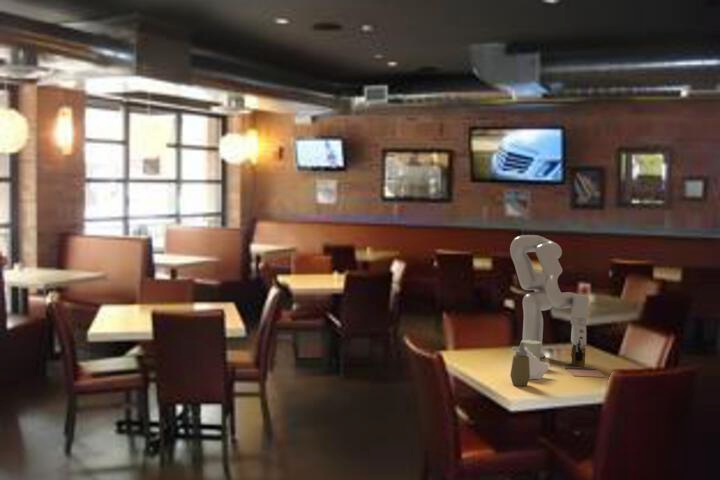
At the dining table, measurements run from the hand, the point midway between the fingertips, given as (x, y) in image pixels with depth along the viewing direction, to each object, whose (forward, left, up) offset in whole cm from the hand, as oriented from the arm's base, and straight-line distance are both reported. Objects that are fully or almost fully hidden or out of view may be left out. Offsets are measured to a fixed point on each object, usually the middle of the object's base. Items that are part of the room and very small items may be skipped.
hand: (576, 358), depth 367 cm
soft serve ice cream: (-29, -27, -4) cm, 40 cm away
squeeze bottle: (-35, -42, -4) cm, 55 cm away
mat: (0, -16, -3) cm, 16 cm away
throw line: (0, -8, -3) cm, 8 cm away
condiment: (0, 0, -4) cm, 4 cm away
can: (-23, -5, -4) cm, 24 cm away
